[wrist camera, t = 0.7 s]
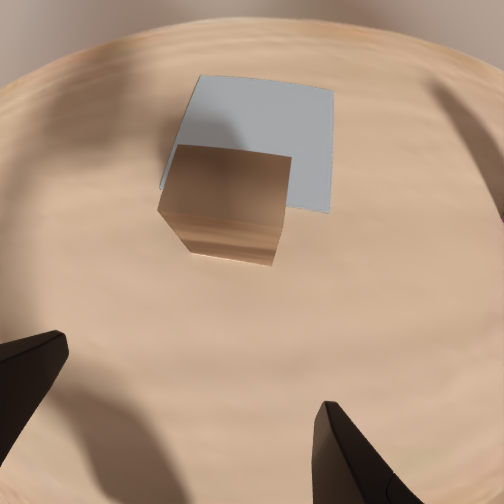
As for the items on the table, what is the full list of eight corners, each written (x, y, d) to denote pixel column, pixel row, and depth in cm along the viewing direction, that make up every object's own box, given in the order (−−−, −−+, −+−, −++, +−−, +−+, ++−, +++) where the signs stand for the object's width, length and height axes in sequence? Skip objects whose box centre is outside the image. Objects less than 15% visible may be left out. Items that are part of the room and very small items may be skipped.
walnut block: (271, 266, 25) (282, 228, 16) (191, 253, 26) (157, 210, 16) (278, 217, 26) (291, 156, 17) (202, 206, 27) (177, 144, 17)
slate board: (328, 213, 26) (329, 211, 26) (160, 189, 27) (159, 187, 27) (332, 93, 30) (333, 90, 30) (201, 77, 31) (200, 75, 31)
